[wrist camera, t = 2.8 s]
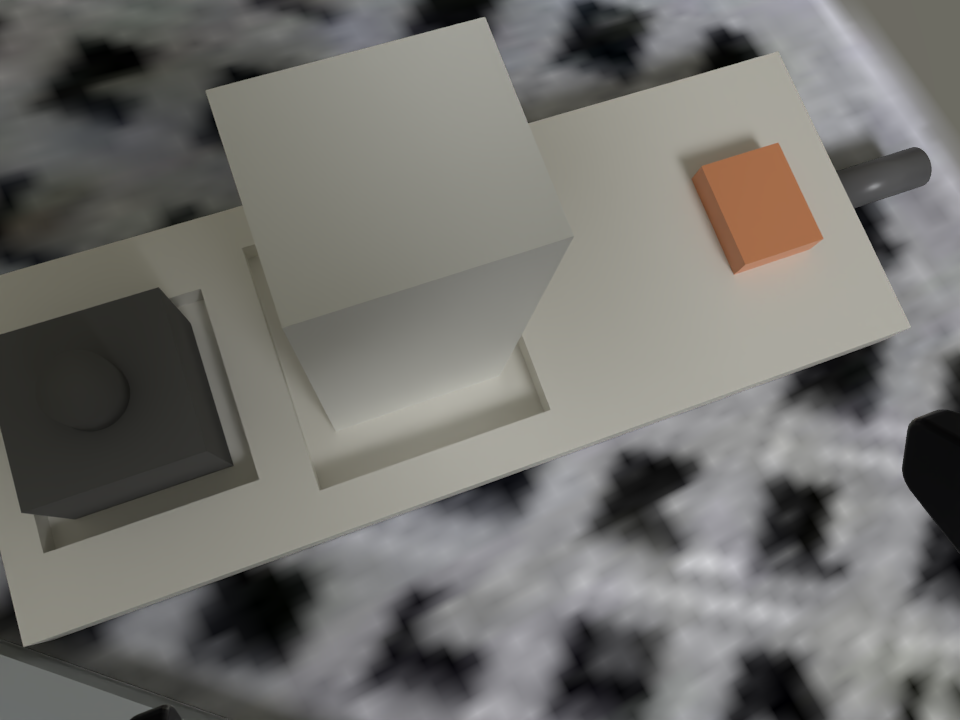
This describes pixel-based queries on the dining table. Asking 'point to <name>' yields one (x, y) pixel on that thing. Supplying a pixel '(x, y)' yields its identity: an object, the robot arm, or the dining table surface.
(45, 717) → the tray
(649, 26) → the dining table surface
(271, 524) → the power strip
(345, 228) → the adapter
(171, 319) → the black plug
